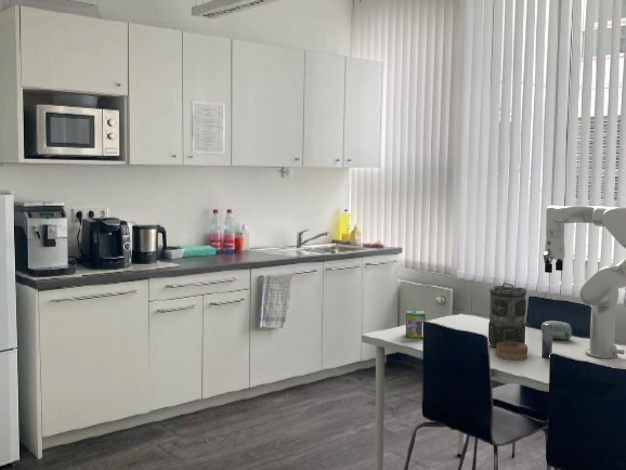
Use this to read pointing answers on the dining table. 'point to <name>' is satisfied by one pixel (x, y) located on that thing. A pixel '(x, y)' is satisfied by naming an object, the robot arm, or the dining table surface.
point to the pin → (547, 340)
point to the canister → (507, 315)
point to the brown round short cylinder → (511, 350)
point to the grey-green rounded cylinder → (560, 330)
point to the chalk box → (414, 323)
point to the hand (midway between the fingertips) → (553, 271)
